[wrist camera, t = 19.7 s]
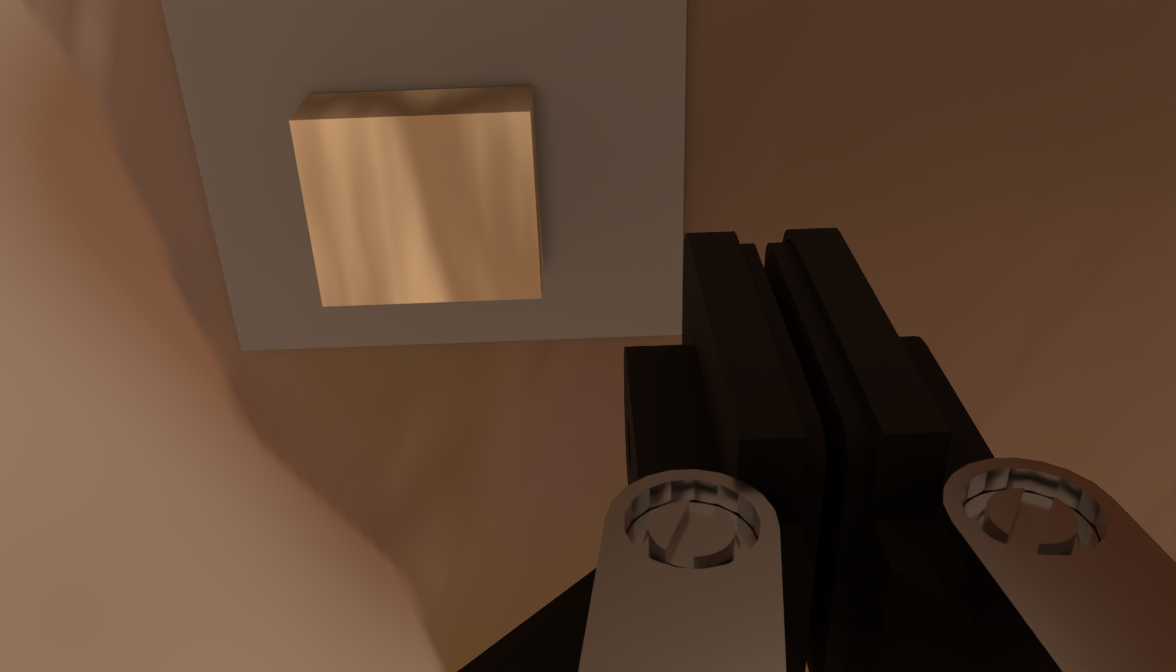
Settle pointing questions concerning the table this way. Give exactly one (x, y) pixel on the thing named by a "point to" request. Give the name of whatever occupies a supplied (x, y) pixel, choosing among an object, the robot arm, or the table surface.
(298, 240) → the rubber mat
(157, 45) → the table surface
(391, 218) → the birch tile
